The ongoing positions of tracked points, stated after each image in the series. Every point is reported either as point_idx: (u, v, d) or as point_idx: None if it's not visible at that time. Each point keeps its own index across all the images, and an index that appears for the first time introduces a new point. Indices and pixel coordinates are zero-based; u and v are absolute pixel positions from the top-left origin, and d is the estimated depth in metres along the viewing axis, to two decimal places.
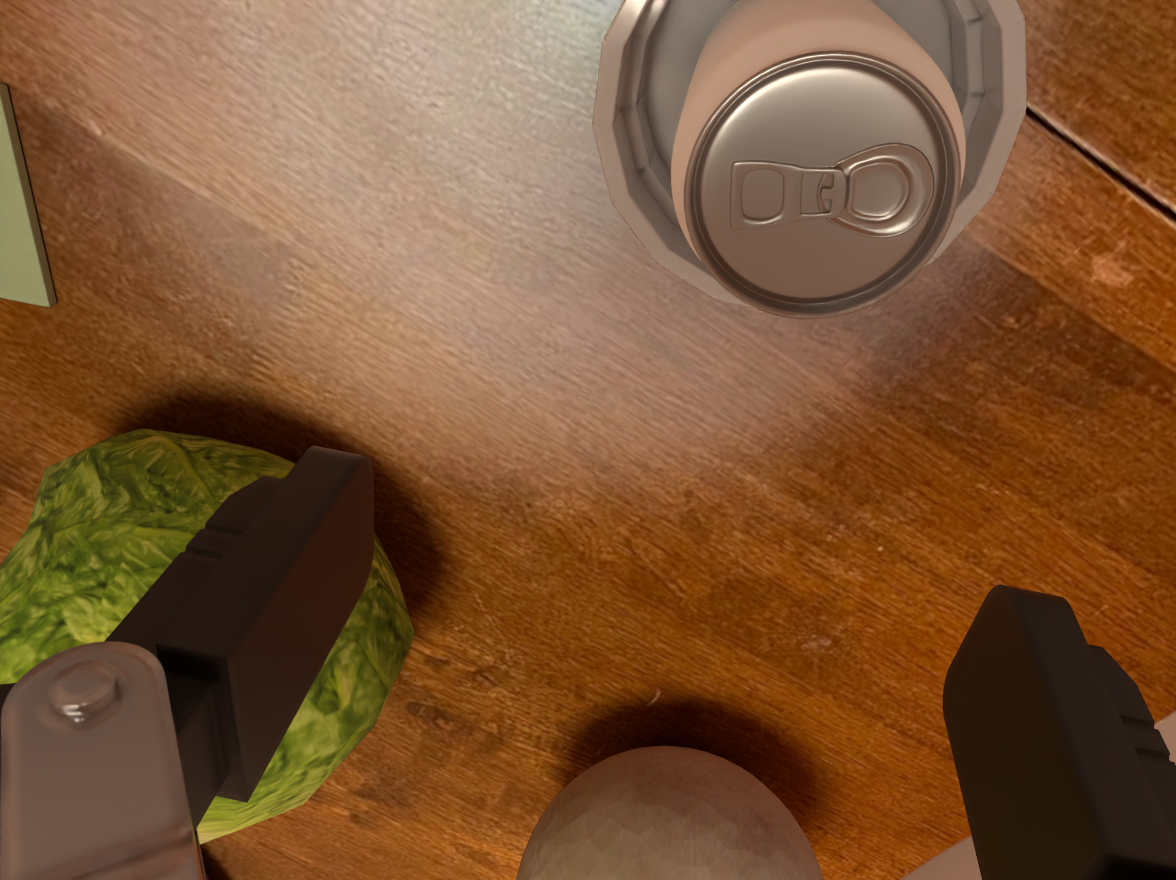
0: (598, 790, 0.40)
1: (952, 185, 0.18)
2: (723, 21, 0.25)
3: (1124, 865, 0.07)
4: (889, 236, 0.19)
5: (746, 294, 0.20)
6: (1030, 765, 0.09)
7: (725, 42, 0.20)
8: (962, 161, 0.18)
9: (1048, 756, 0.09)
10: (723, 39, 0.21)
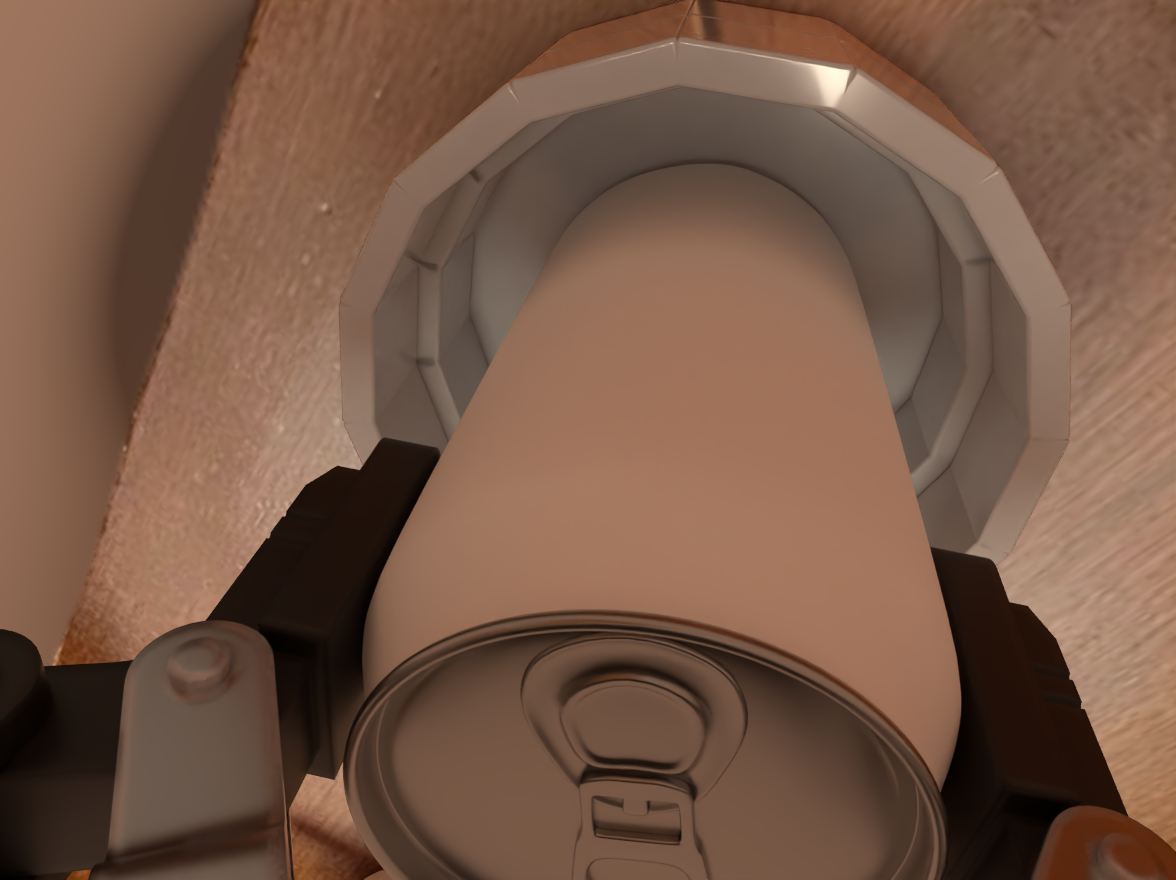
0: None
1: (598, 629, 0.07)
2: None
3: (1022, 797, 0.08)
4: (744, 708, 0.07)
5: None
6: None
7: None
8: (595, 500, 0.08)
9: (962, 702, 0.09)
10: None
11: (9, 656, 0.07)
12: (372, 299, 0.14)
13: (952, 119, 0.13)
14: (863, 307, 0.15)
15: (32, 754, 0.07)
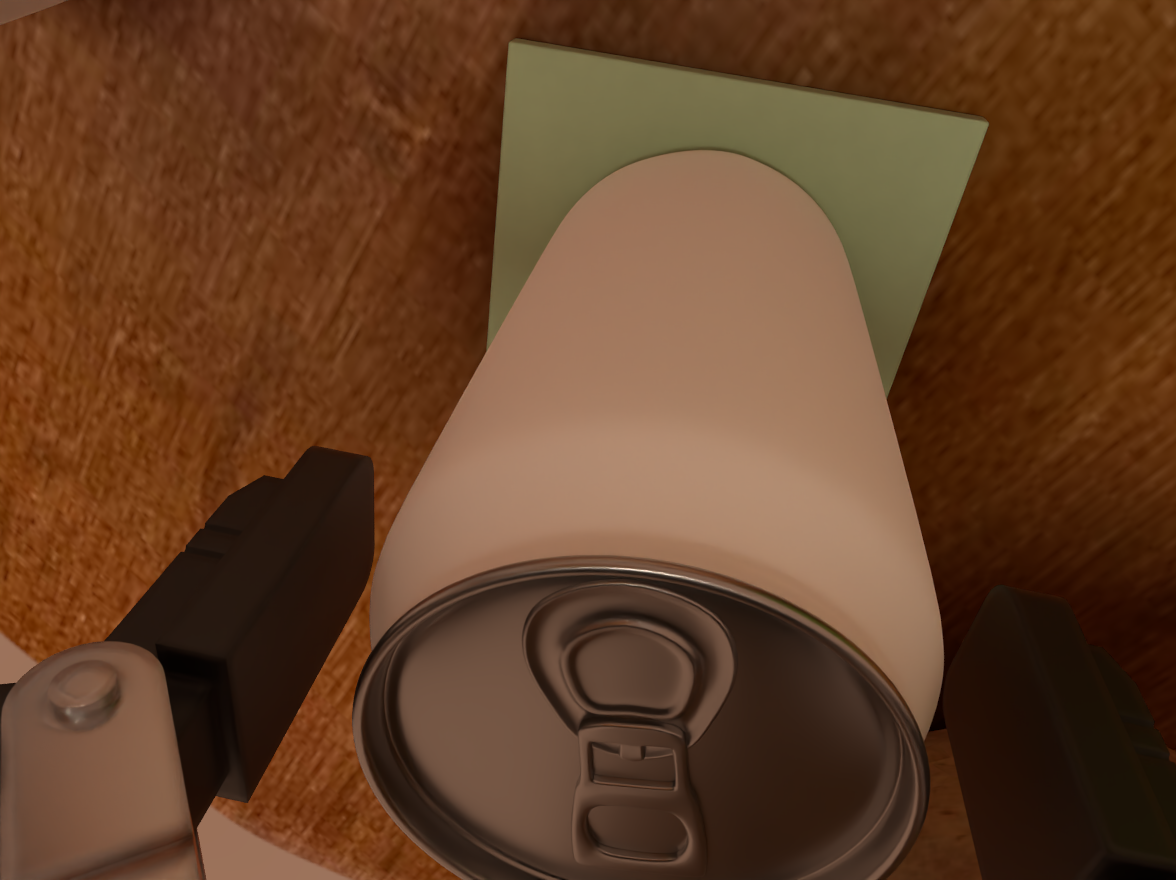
0: None
1: (595, 574, 0.07)
2: None
3: (1124, 865, 0.07)
4: (735, 653, 0.08)
5: None
6: (1030, 765, 0.09)
7: None
8: (593, 456, 0.08)
9: (1048, 756, 0.09)
10: None
11: None
12: None
13: None
14: (856, 289, 0.15)
15: None
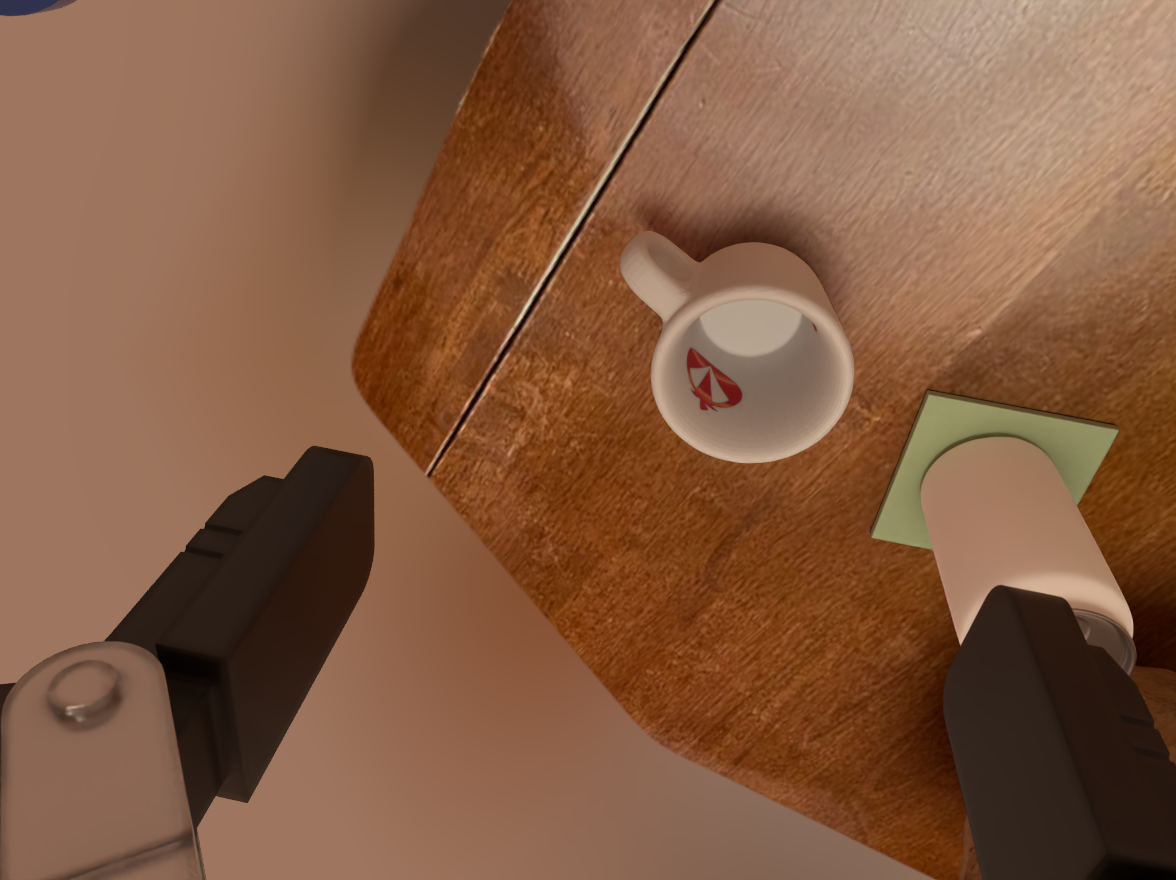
0: None
1: None
2: None
3: (1124, 865, 0.07)
4: (1091, 630, 0.33)
5: None
6: (1030, 765, 0.09)
7: None
8: (1055, 583, 0.33)
9: (1048, 756, 0.09)
10: None
11: None
12: None
13: None
14: None
15: None
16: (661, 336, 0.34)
